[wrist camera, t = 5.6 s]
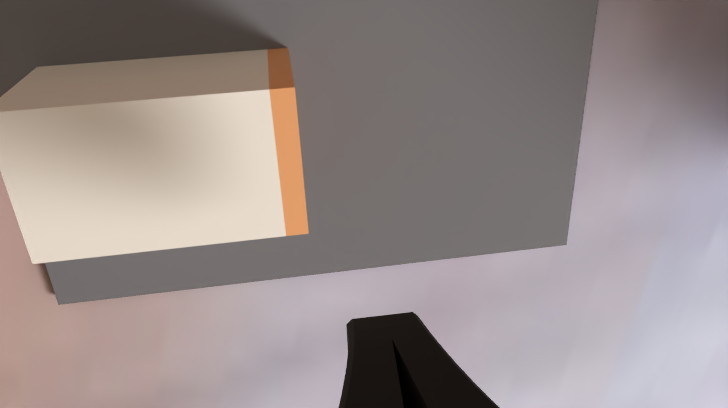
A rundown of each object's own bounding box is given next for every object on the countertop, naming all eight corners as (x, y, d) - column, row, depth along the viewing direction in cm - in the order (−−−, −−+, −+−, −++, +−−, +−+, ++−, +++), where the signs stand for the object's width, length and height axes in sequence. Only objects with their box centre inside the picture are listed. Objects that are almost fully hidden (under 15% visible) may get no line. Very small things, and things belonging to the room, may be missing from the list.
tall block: (294, 87, 15) (-20, 113, 14) (308, 233, 16) (32, 264, 16) (287, 47, 18) (37, 66, 17) (300, 172, 20) (74, 194, 19)
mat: (607, -121, 18) (614, -122, 17) (561, 239, 23) (566, 244, 23) (-66, -90, 16) (-73, -89, 15) (61, 297, 21) (58, 304, 21)
